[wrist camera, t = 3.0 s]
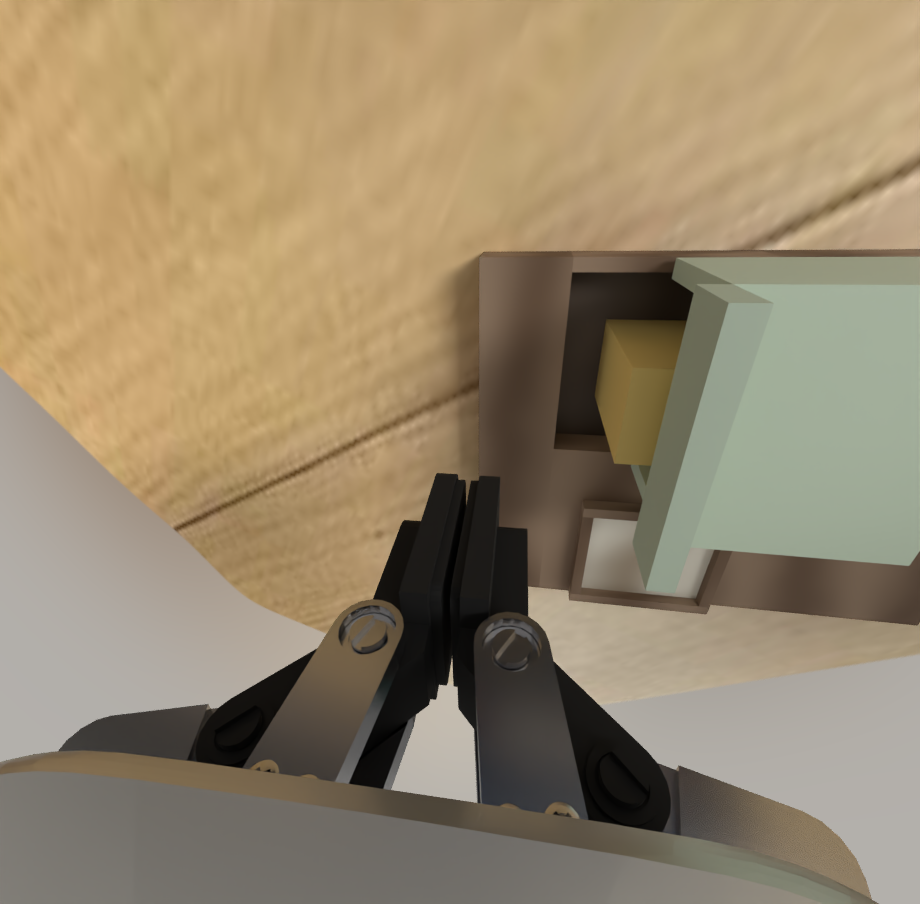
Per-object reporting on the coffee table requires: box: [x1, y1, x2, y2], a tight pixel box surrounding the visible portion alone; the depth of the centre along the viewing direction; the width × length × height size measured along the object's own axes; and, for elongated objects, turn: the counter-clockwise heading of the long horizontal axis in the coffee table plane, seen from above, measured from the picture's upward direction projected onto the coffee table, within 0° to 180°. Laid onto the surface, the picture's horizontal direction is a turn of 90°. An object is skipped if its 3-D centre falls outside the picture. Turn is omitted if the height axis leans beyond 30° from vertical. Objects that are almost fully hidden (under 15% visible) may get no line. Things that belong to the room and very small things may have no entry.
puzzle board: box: [479, 249, 920, 625], centre depth 22 cm, size 26×20×3 cm
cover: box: [631, 257, 920, 593], centre depth 16 cm, size 10×10×8 cm
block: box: [595, 319, 687, 466], centre depth 19 cm, size 4×4×7 cm
